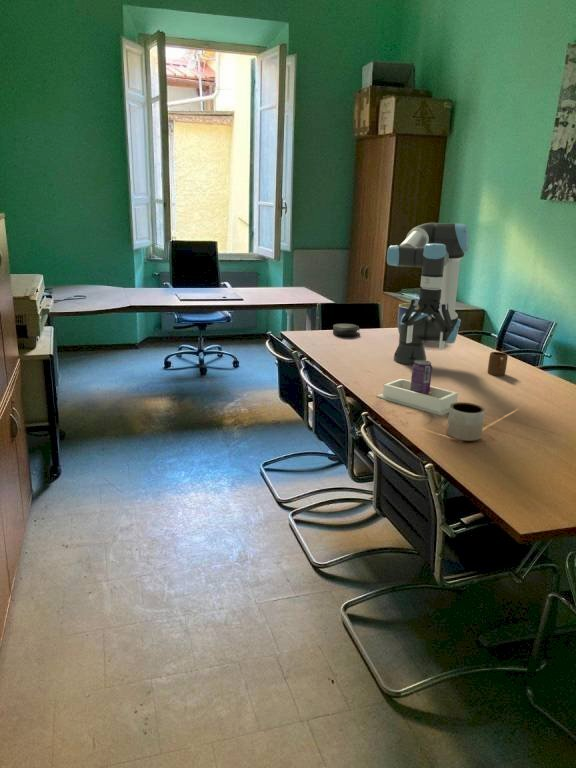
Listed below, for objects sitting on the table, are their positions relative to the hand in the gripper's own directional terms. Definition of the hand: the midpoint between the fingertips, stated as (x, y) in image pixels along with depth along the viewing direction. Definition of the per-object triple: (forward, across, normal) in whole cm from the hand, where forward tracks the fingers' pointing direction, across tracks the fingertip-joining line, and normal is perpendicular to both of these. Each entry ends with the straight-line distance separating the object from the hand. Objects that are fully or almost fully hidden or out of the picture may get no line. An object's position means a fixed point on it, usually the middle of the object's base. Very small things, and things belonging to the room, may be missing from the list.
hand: (424, 346), depth 211 cm
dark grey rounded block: (+23, -88, +67) cm, 113 cm away
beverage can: (+18, 0, 0) cm, 18 cm away
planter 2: (+21, +28, -20) cm, 40 cm away
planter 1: (+23, -59, +92) cm, 112 cm away
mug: (+22, +5, +59) cm, 63 cm away
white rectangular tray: (+22, 0, 0) cm, 22 cm away
